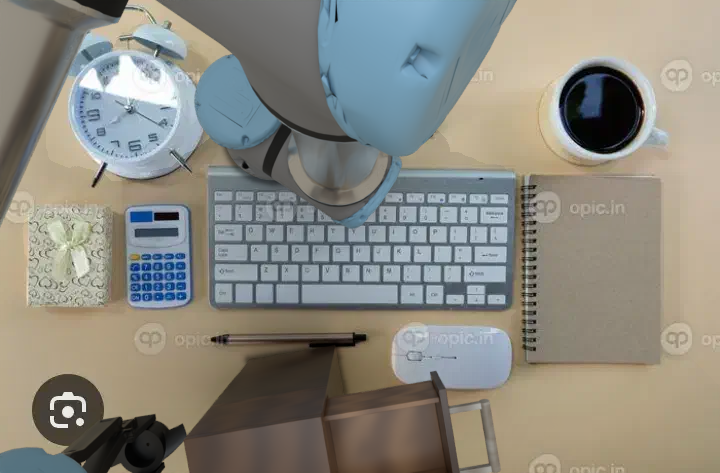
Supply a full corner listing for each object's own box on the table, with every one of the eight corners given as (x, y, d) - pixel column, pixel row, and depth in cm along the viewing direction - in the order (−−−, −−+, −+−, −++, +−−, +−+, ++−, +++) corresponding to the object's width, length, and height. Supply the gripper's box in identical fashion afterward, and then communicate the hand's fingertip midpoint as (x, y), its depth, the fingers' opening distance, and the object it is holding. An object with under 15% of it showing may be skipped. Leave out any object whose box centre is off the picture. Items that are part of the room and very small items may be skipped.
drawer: (474, 363, 57) (489, 381, 51) (492, 470, 58) (509, 501, 51) (319, 389, 57) (314, 410, 51) (338, 496, 58) (335, 531, 51)
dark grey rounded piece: (119, 405, 62) (107, 414, 59) (193, 421, 62) (185, 430, 59) (108, 461, 62) (95, 473, 59) (182, 477, 62) (173, 489, 59)
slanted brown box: (335, 344, 79) (321, 416, 49) (348, 423, 79) (342, 541, 49) (249, 359, 79) (183, 439, 49) (263, 437, 79) (205, 564, 49)
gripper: (-44, 470, 38) (109, 377, 62) (0, 690, 39) (135, 515, 62) (46, 455, 38) (165, 367, 61) (88, 676, 39) (190, 506, 62)
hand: (150, 442), depth 62 cm, fingers closed on dark grey rounded piece, 6 cm apart
